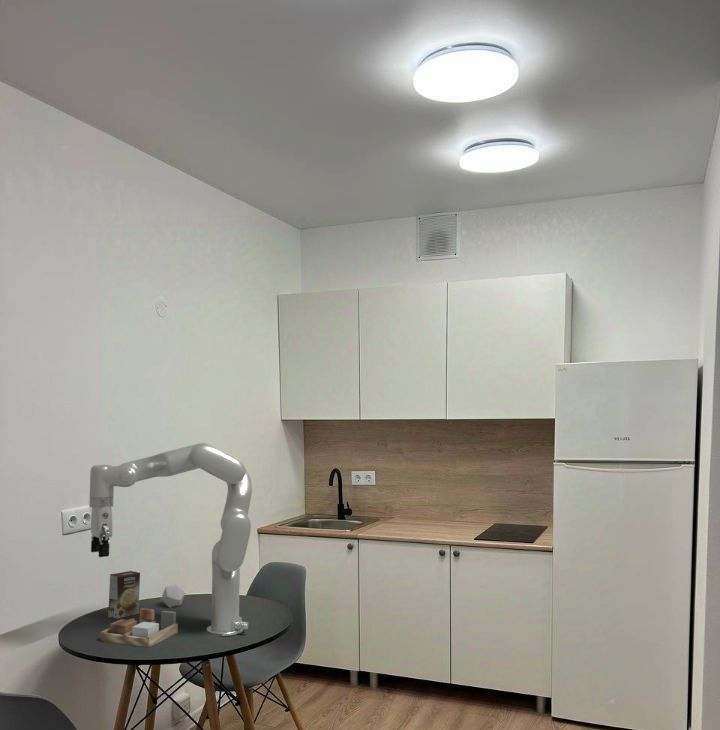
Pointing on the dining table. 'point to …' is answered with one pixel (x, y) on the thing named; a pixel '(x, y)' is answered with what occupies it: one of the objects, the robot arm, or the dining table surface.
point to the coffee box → (124, 594)
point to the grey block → (154, 625)
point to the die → (173, 596)
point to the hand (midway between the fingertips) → (99, 554)
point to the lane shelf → (139, 641)
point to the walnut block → (131, 622)
